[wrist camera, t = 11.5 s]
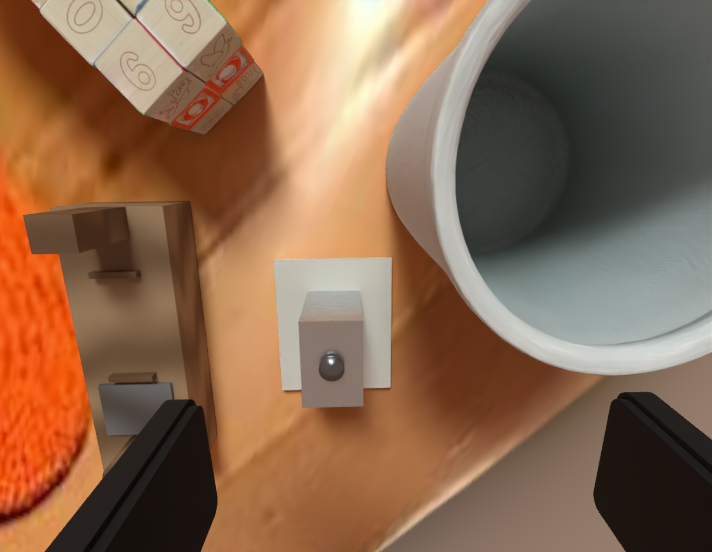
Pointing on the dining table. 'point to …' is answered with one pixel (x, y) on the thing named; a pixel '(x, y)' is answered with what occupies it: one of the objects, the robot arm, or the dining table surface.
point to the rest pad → (336, 276)
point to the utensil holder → (571, 178)
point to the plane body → (131, 310)
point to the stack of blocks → (160, 55)
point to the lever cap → (331, 349)
